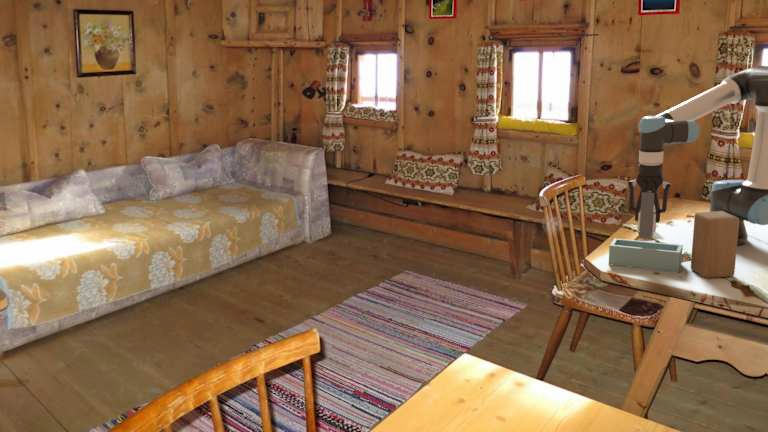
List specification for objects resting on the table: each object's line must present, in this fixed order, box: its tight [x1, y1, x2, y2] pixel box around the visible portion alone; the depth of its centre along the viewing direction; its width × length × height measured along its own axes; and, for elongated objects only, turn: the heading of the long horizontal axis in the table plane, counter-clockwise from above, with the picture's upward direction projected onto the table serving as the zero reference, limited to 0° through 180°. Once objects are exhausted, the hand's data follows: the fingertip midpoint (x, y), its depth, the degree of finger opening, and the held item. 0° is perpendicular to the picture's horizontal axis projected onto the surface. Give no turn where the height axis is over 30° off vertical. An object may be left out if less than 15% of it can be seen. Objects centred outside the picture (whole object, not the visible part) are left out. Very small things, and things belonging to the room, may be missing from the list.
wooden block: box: [690, 211, 739, 279], centre depth 215 cm, size 10×10×20 cm
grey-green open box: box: [608, 238, 684, 273], centre depth 228 cm, size 22×9×7 cm, turn 61°
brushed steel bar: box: [638, 191, 656, 240], centre depth 224 cm, size 4×4×16 cm
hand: (646, 230), depth 225 cm, fingers closed on brushed steel bar, 4 cm apart
